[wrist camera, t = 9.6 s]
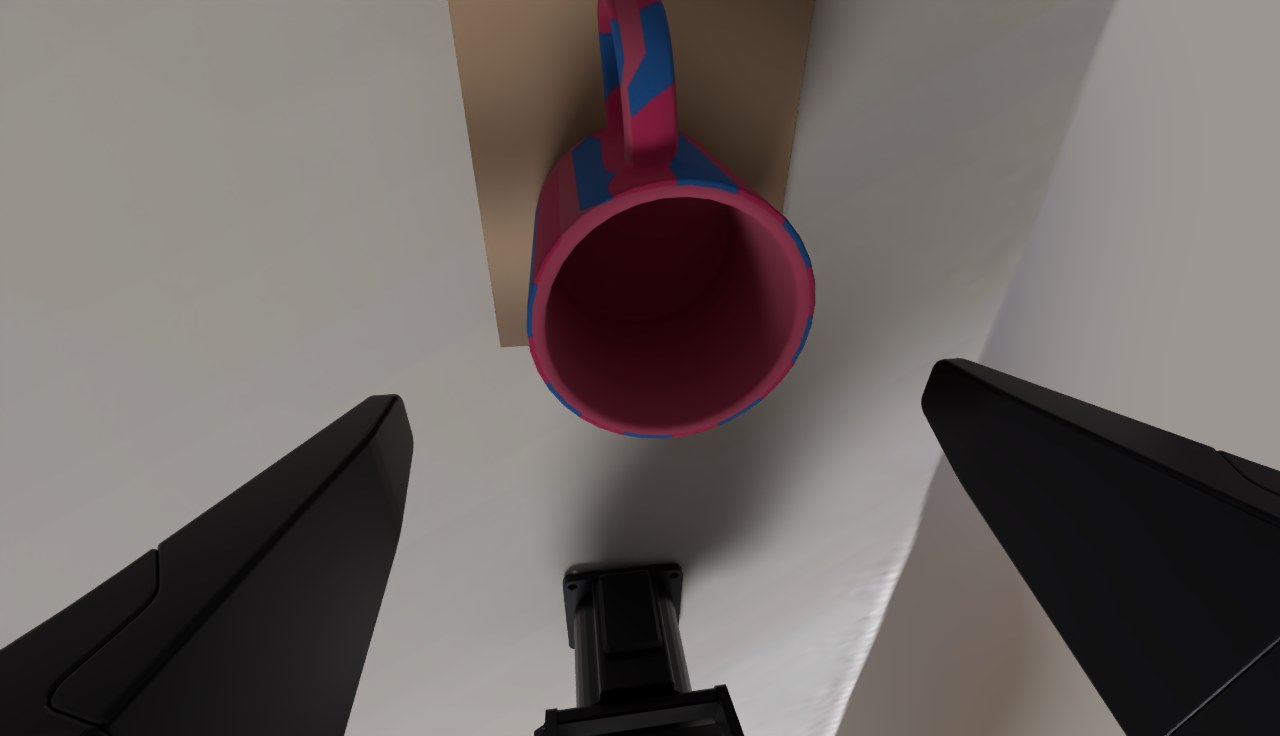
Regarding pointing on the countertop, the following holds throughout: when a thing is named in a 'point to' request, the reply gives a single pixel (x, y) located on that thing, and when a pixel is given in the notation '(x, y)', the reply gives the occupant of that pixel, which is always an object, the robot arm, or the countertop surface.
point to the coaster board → (575, 105)
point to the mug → (659, 260)
